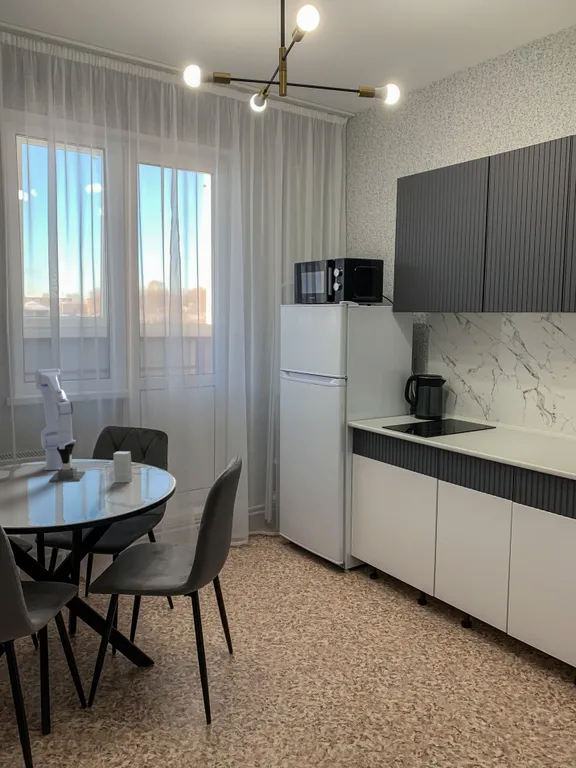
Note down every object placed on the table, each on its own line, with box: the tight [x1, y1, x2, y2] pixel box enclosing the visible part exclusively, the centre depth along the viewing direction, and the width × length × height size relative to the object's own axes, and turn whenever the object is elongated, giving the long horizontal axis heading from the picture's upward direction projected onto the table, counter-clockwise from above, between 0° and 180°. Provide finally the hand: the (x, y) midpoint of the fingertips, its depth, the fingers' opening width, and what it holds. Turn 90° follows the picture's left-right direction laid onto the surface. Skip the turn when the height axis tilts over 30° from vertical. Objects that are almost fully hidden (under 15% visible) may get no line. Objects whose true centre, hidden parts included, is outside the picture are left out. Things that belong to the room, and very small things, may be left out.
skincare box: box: [112, 451, 133, 483], centre depth 251 cm, size 6×4×12 cm
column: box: [61, 453, 73, 471], centre depth 257 cm, size 4×4×7 cm
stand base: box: [48, 466, 86, 483], centre depth 257 cm, size 12×12×4 cm
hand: (66, 462), depth 257 cm, fingers closed on column, 3 cm apart
